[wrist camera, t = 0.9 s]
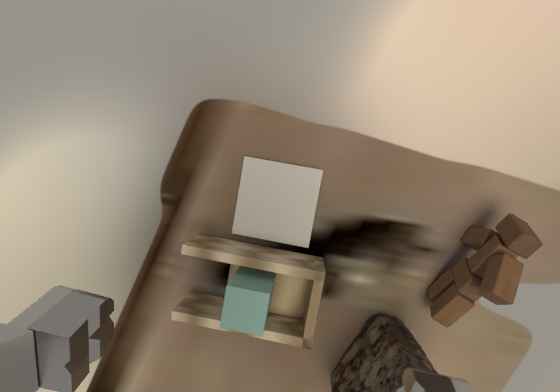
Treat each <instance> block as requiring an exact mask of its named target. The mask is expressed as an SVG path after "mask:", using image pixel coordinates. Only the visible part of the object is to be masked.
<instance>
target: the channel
mask: <svg viewBox="0 0 560 392" xmlns="http://www.w3.org/2000/svg"><path fill="white" fill-rule="evenodd" d="M181 254H184V255H189V256H194V257H199V258H204V259H209V260H214V261H219V262H224V263H229V264H231V265H230V271H229V277H228V282H229V281H230V280H231V278H232V277H233V275H234V274H235V272H236V271H237V269H238V268H239V266H245V267H250V268H255V269H260V270H265V271H270V272H275V273H276V279H275V285H274V290H273V296H272V301H271V306H270V310H269V314H268V318H267V321H266V325H265V329H264V333H263V336H258V335H253V334H248V333H244V332H239V331H234V330H229V329H225V328H220V321H221V315H222V309H223V303H224V298H222V297H217V296H212V295H207V294H203V293H198V292H193V291H191V292H190V293H189V294H188V295H187V296H186V297H185V298H184V299H183V300H182V301H181V302H180V303H179V304H178V306H177V307H176V308H175V309H174V310H173V311H172V317H171V320H174V321H179V322H184V323H188V324H193V325H198V326H203V327H207V328H212V329H217V330H222V331H226V332H231V333H236V334H241V335H245V336H250V337H255V338H260V339H264V340H269V341H274V342H279V343H283V344H288V345H293V346H298V347H302V348H307V349H311V346H312V340H313V335H314V330H315V325H316V320H317V315H318V310H319V304H320V299H321V294H322V289H323V284H324V279H325V274H326V272H325V266H324V261H323V258H322V257H317V256H312V255H307V254H302V253H297V252H291V251H286V250H281V249H276V248H271V247H266V246H260V245H255V244H250V243H245V242H240V241H234V240H229V239H224V238H219V237H214V236H209V235H203V234H199V235H197V236H196V237H194V238H192V239H191V240H189V241H188V242H186V243H184V244H183V245H182V251H181ZM227 284H228V283H227Z"/></svg>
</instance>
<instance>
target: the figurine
mask: <svg viewBox="0 0 560 392" xmlns="http://www.w3.org/2000/svg"><path fill="white" fill-rule="evenodd" d="M496 229H497V231H498V233H497V232H495V231H494V230H492V229H485V228H475V227H469V228H468V230H467V232H466V234H465V235H464V237H463V239H462V241H461V242H462V243H464V244H466V245H467V246H469V247H471V248H472V249H474V250H477V252H476V253H475V254H474V255H473V256H472V257H471V258H470V259H467V258H465V257H463V258H462V259H461V260H460V261H459V262H458V263H456V264H455V265H454V266H453V267H452V268H449V269H448V270H447V271H446V272H445V273H444V274H443V275H442V276H441V277H440V278H438V279H437V280H436V281H435V282H434V283H433V284H432V285H431V286H430V287H429V288H428V290H427V291H428V297H429V300H430V301H431V302H433V303H432V304H431V305H430V310H431V316H432V318H433V319H434V320H436V321H437V322H439V323H441V324H442V325H444V326H446V327H449V326H451V325H452V324H453V323H454V322H455V321H457V320H458V319H459V318H460V317H461V316H463V315H464V314H465V313H466V312H468V311H469V310H470V309H471V308H472V307H474V305H475V304H474V302H475V301H476V300H478V299H479V298H480V297H481V296H483V297H484V298H486V299H488V300H489V301H491V302H493V303H494V304H497V305H505V304H513V302H514V299H515V295H516V292H517V288H518V284H519V281H520V277H521V273H522V270H523V266H524V265H523V263H521V262H519V261H518V260H516V258H517V257H518V255H519V256H521V257H523V258H525V259H526V258H528V257H529V256H530V255H532V254H533V253H534V252H535V251H536V250H538V249H539V248H540V247H541V246H542V245H543V244H542V242H541V241H540V239H539V238H538V237H537V235H536V234H535V233H534V232H533V230H532V229H531V228H530V226H529V225H528V224H527V222H525V221H523V220H521V219H520V218H518V217H516V216H515V215H513V214H508V215H507V216H506V217H505V218H504V219H503V220H502V221H501V222H500V223H499V224H498V225H497V226H496Z"/></svg>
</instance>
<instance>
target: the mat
mask: <svg viewBox="0 0 560 392" xmlns="http://www.w3.org/2000/svg"><path fill="white" fill-rule="evenodd" d="M322 174H323V170H320V169H314V168H309V167H303V166H297V165H292V164H286V163H281V162H275V161H269V160H264V159H258V158H252V157H247V156H244V162H243V168H242V174H241V180H240V186H239V192H238V198H237V204H236V210H235V216H234V222H233V228H232V233H233V234H238V235H243V236H249V237H254V238H259V239H264V240H269V241H275V242H280V243H285V244H290V245H295V246H301V247H306V248H309V243H310V237H311V232H312V227H313V221H314V216H315V211H316V205H317V200H318V195H319V189H320V184H321V179H322Z"/></svg>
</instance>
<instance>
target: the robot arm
mask: <svg viewBox="0 0 560 392" xmlns="http://www.w3.org/2000/svg"><path fill="white" fill-rule="evenodd" d="M113 311H114V301H113V300H112V299H111V298H108V297H104V296H100V295H97V294H93V293H89V292H85V291H81V290H75V289H72V288H68V287H64V286H56V287H53V288H52V289H51V290H50V291H48V292H47V293H46V294H45V295H43V296H42V297H41V298H39V299H38V300H37V301H36V302H34V303H33V304H32V305H31V306H29V307H28V308H27V309H26V310H24V311H23V312H22V313H21V314H19V315H18V316H17V317H16V318H14V319H13V320H12V321H11V322H9V323H8V324H3V323H0V392H35V391H37V390H38V389H39V387H40V388H44V389H49V390H54V391H59V392H74V391H75V390H76V388H77V387H78V386H79V385H80V384H81V382H82V381H83V380H84V378H85V377H86V376H87V374H88V373H89V364H90V363H92V362H94V361H96V360H98V359H100V358H101V357H102V355H103V354H104V352H105V351H106V350H107V348H108V346H109V344H110V341H111V339H112V336H113V331H114V323H113V321H112V320H111V318H110V317H109V315H110V314H111V313H112V312H113ZM402 381H403V385H404V386H402V387H401V388H399V389H397V390H396V392H474V391H473V388H472V386H471V384H470V383H469V382H468V381H467V380H465V379H460V378H455V377H451V376H445V375H441V374H436V373H432V372H427V371H423V370H418V369H414V368H409V367H408V368H407V369H406V370H405V371H404V373H403V376H402Z"/></svg>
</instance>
